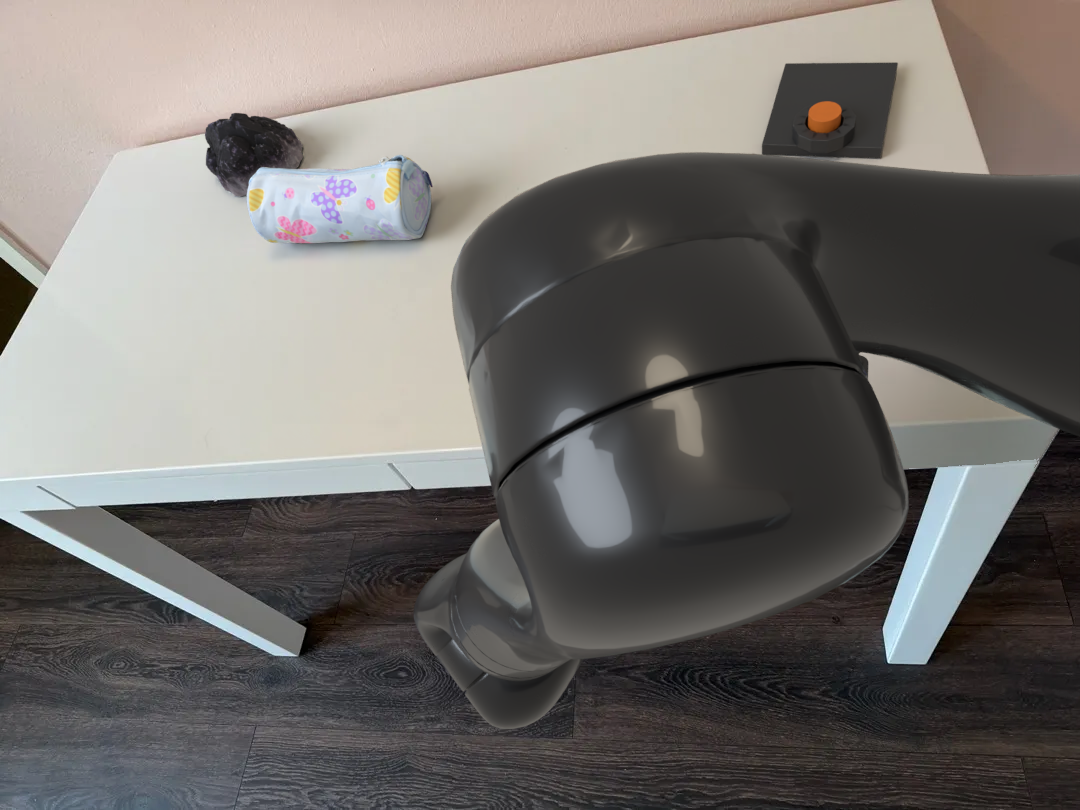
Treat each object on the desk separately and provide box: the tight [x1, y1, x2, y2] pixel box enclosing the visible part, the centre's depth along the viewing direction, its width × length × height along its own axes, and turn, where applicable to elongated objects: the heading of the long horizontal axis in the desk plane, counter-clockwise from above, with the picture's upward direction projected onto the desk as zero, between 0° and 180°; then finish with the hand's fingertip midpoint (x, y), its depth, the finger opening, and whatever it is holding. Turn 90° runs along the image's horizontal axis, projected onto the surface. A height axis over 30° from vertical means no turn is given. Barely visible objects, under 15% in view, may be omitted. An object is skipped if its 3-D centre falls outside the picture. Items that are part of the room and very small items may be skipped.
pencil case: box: [246, 154, 434, 244], centre depth 89 cm, size 21×9×10 cm, turn 81°
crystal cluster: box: [204, 112, 304, 198], centre depth 102 cm, size 13×14×10 cm
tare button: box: [808, 101, 842, 133], centre depth 80 cm, size 3×3×2 cm
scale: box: [761, 62, 899, 159], centre depth 83 cm, size 12×15×3 cm
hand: (875, 308), depth 53 cm, fingers closed
